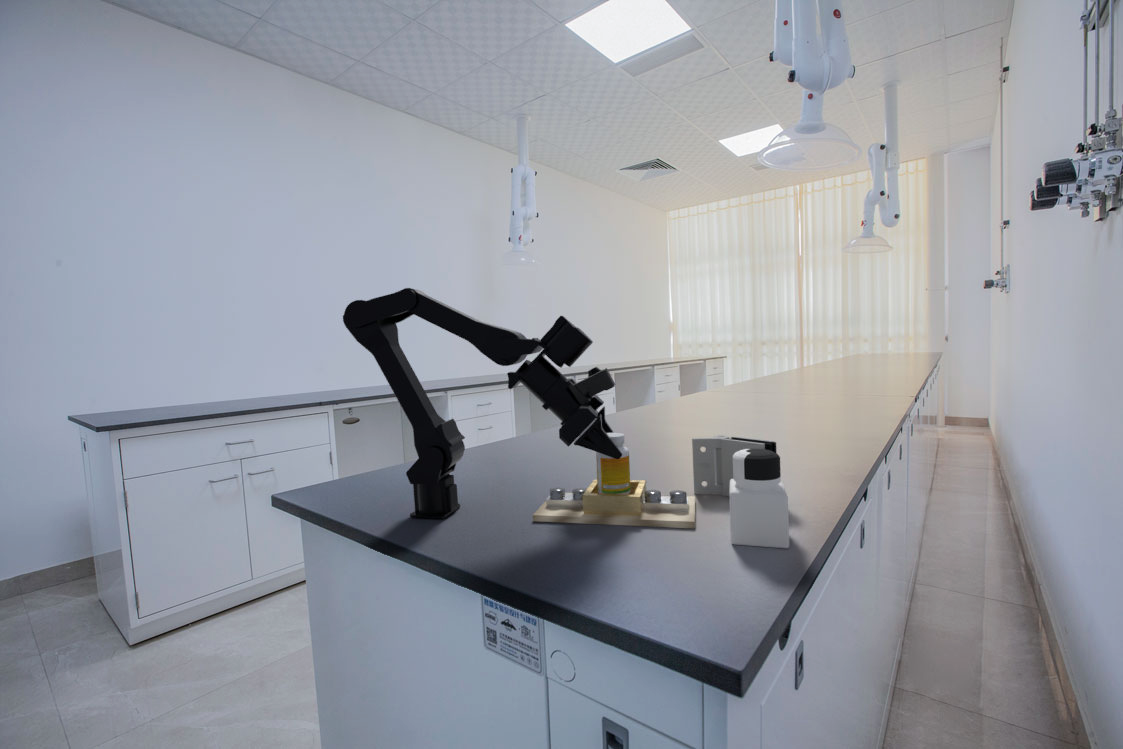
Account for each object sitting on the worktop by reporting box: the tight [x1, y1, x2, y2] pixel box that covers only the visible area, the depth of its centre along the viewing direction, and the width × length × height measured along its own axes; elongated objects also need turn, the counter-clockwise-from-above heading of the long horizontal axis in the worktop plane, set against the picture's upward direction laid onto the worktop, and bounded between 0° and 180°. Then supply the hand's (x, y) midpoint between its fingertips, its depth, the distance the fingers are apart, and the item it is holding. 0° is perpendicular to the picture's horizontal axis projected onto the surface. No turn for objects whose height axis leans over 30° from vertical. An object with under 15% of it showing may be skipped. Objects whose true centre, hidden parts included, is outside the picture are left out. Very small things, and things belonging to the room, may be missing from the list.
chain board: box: [532, 492, 696, 529], centre depth 82 cm, size 25×12×1 cm, turn 75°
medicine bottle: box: [728, 449, 790, 549], centre depth 68 cm, size 7×7×12 cm
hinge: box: [691, 434, 778, 497], centre depth 87 cm, size 14×5×10 cm, turn 52°
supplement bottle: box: [595, 432, 631, 495], centre depth 81 cm, size 5×5×10 cm
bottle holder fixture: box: [545, 478, 689, 516], centre depth 82 cm, size 23×9×3 cm, turn 75°
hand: (620, 453), depth 81 cm, fingers closed on supplement bottle, 5 cm apart
